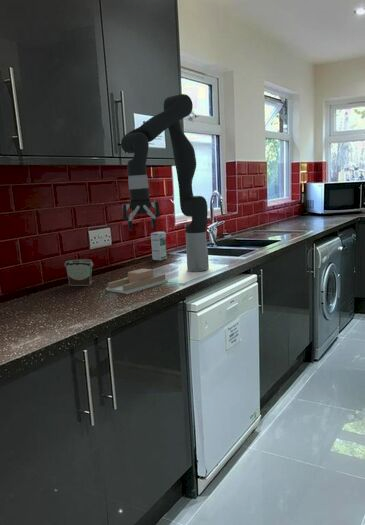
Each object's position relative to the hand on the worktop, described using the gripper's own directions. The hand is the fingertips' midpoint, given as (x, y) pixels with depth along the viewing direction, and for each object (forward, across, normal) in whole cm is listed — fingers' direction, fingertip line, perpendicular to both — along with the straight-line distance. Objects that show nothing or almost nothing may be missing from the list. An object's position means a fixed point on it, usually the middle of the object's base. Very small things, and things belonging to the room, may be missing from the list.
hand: (142, 229), depth 170 cm
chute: (+22, +4, +1) cm, 22 cm away
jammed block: (+21, +2, 0) cm, 21 cm away
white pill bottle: (+23, -18, -56) cm, 63 cm away
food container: (+22, +24, -14) cm, 36 cm away
